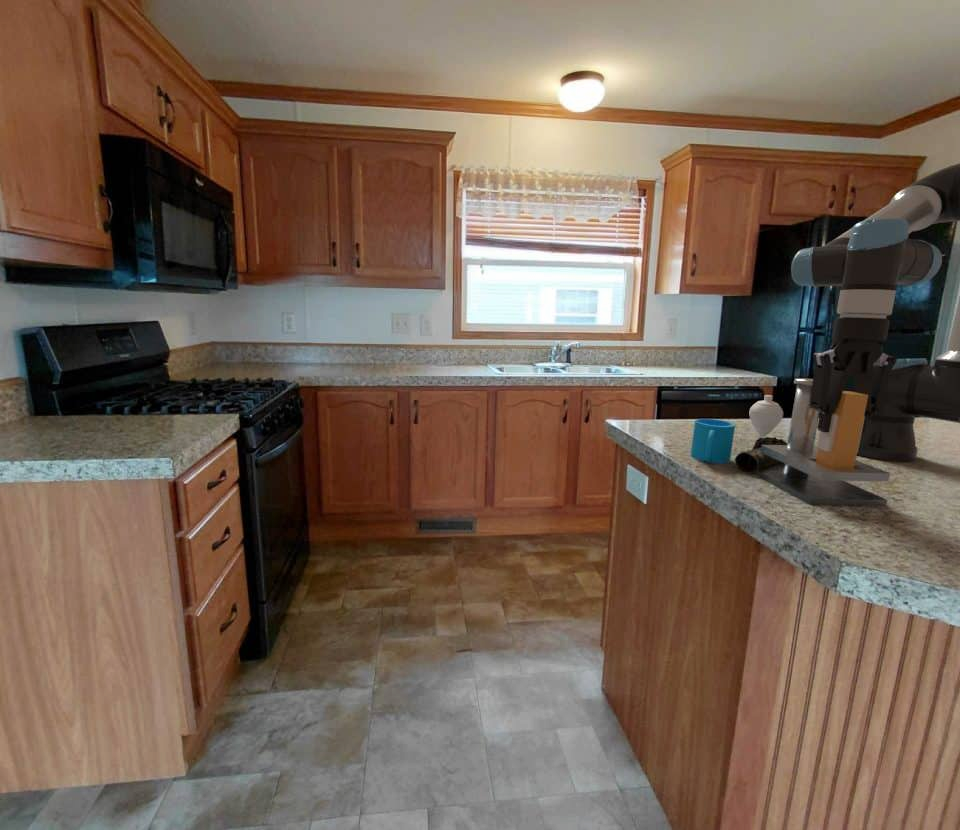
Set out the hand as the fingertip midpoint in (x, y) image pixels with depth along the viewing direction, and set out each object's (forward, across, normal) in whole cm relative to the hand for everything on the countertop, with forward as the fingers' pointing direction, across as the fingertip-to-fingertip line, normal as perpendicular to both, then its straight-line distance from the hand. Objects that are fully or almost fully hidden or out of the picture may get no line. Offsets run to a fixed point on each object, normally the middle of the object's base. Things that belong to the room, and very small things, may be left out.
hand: (837, 449), depth 90 cm
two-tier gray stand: (+9, 0, -4) cm, 9 cm away
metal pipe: (+9, +1, -19) cm, 21 cm away
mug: (+9, +11, -22) cm, 26 cm away
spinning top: (+9, -12, -40) cm, 43 cm away
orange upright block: (+4, 0, 0) cm, 4 cm away
